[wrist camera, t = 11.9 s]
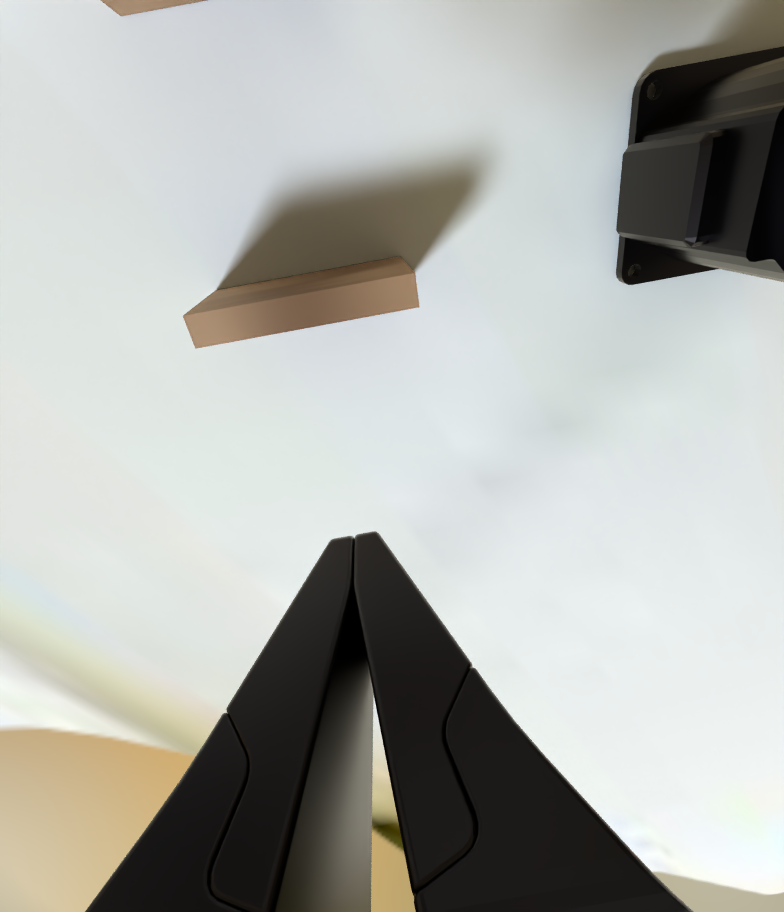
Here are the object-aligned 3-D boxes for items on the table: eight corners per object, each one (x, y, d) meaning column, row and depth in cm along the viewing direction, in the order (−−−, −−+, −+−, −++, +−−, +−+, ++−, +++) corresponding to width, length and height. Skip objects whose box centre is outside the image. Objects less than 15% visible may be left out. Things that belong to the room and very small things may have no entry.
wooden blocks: (354, -80, 12) (358, -183, 9) (404, 284, 17) (419, 307, 14) (103, -33, 12) (12, -120, 9) (225, 317, 17) (195, 348, 14)
